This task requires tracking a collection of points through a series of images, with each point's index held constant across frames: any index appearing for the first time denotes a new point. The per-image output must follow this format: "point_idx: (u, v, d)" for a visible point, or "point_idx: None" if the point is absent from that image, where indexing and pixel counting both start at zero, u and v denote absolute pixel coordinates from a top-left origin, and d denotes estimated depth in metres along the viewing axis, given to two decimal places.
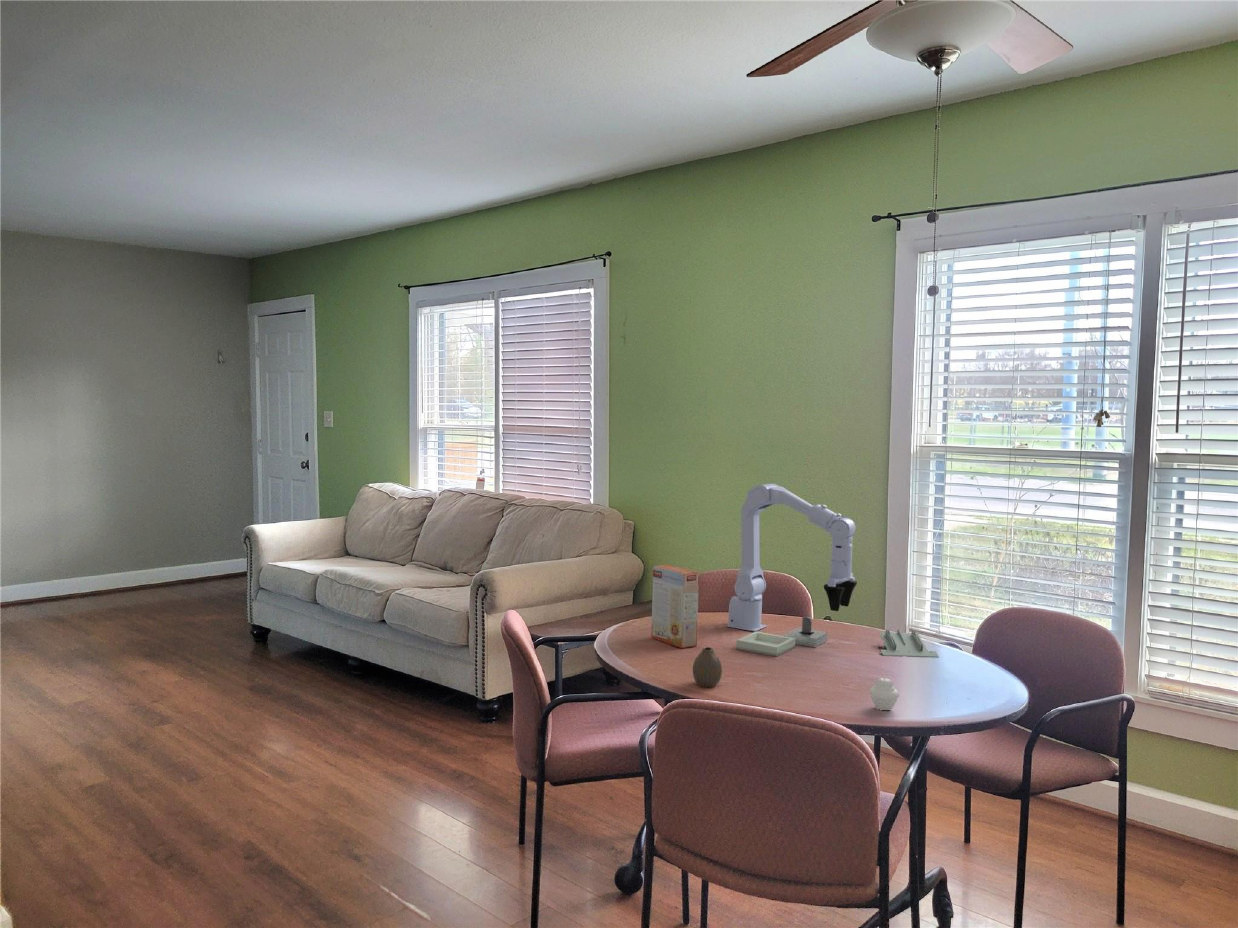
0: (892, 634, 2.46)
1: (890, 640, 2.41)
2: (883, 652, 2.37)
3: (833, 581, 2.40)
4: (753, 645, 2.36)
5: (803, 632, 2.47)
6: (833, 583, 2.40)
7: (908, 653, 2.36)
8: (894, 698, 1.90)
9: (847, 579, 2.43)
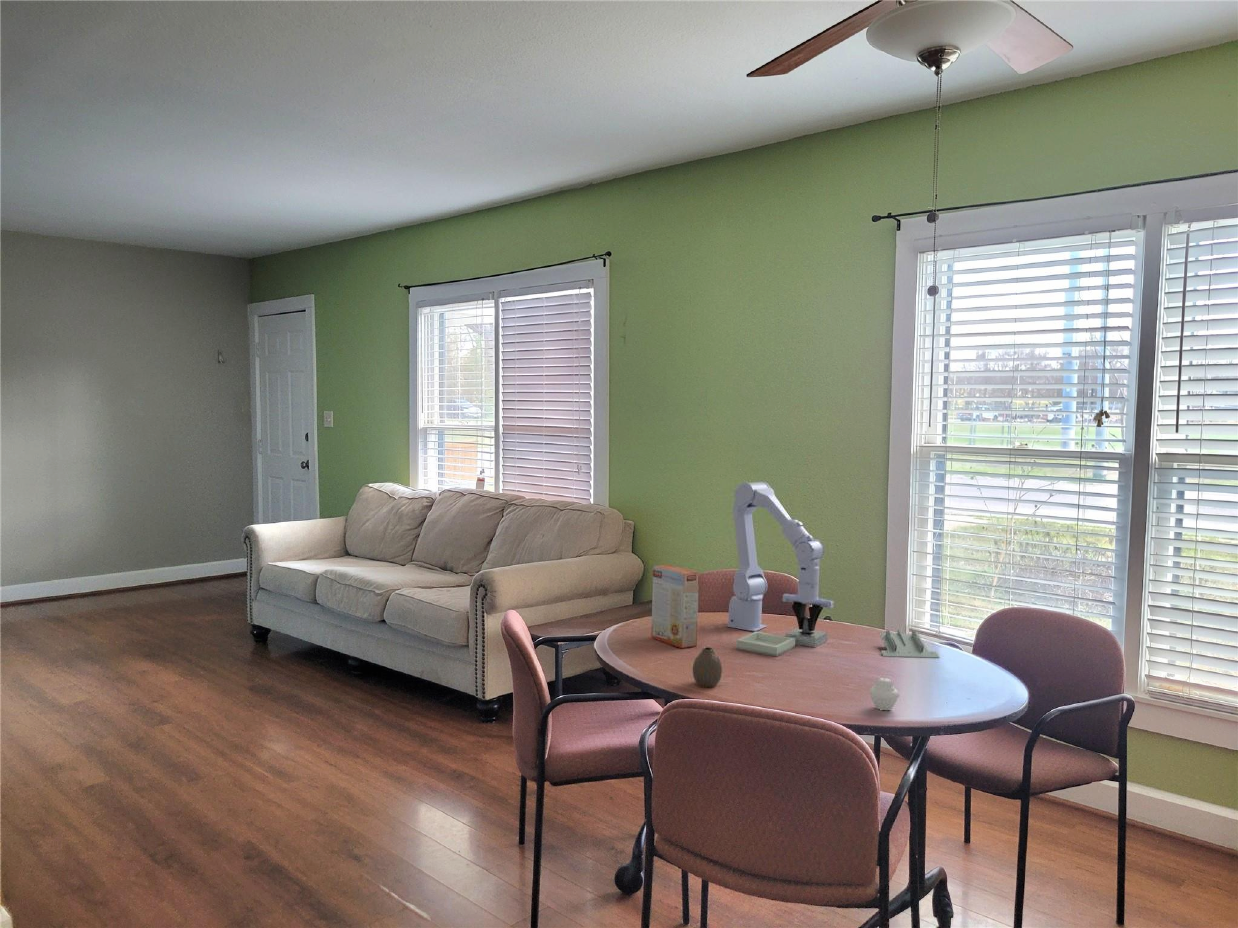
0: (892, 635, 2.45)
1: (890, 641, 2.40)
2: (884, 653, 2.36)
3: None
4: (753, 645, 2.36)
5: (803, 632, 2.47)
6: None
7: (909, 654, 2.35)
8: (894, 698, 1.90)
9: (798, 599, 2.46)
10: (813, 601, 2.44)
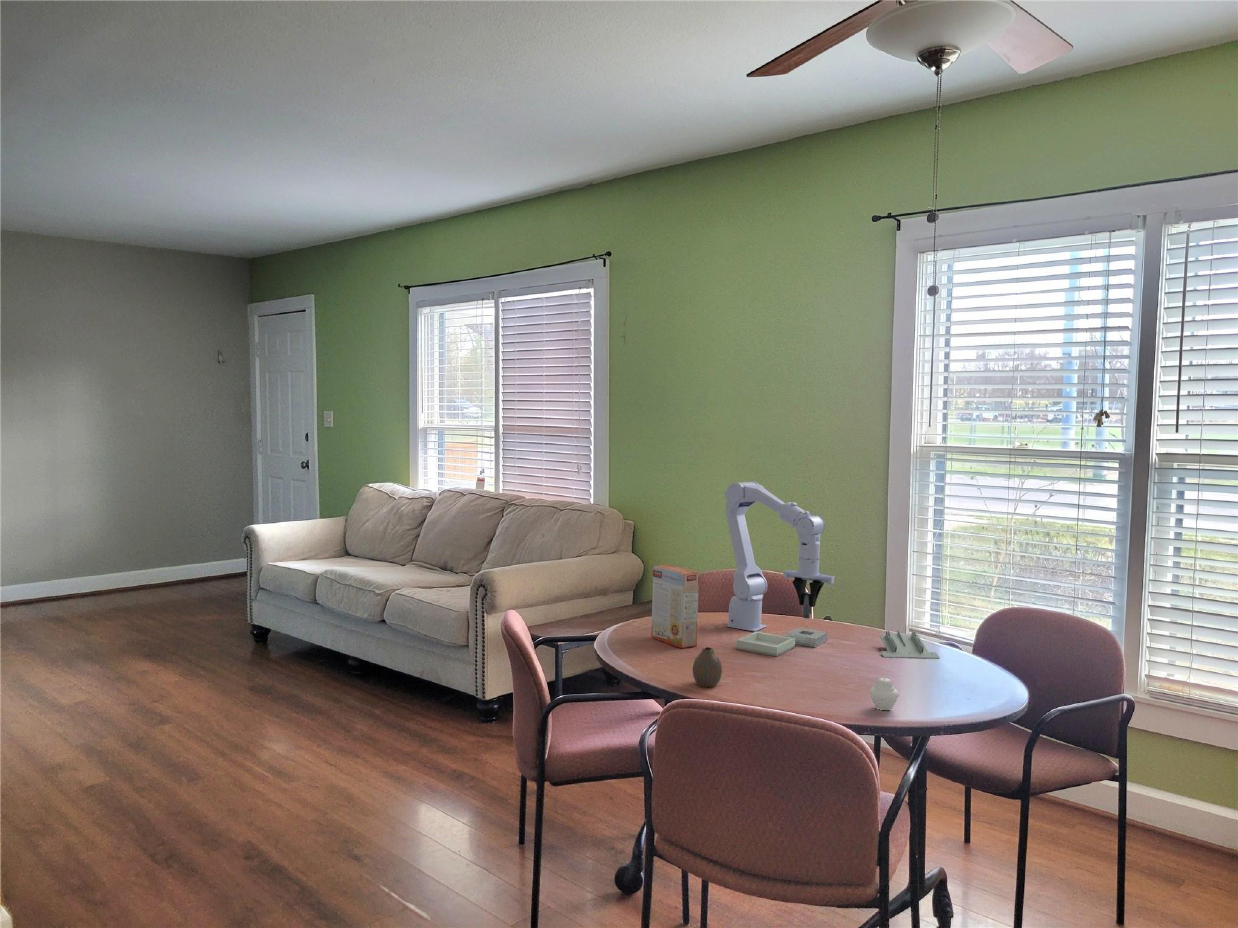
0: (892, 635, 2.44)
1: (890, 641, 2.39)
2: (884, 654, 2.35)
3: None
4: (753, 645, 2.36)
5: (804, 608, 2.47)
6: None
7: (909, 654, 2.35)
8: (894, 698, 1.90)
9: (799, 575, 2.46)
10: (814, 576, 2.44)
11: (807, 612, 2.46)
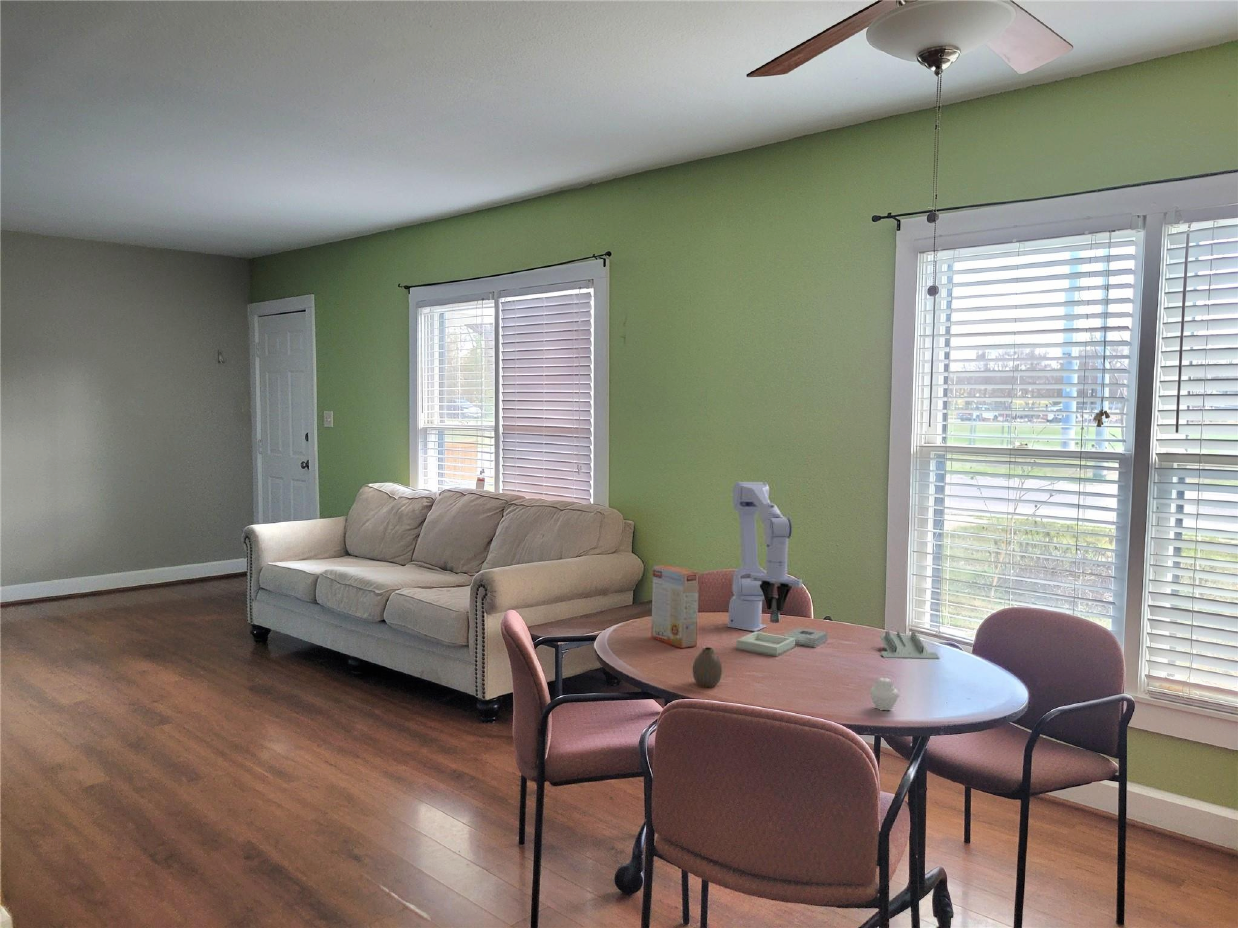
0: (892, 636, 2.44)
1: (890, 642, 2.39)
2: (884, 654, 2.35)
3: None
4: (753, 645, 2.36)
5: (771, 612, 2.40)
6: None
7: (909, 655, 2.34)
8: (894, 698, 1.90)
9: (766, 578, 2.39)
10: (781, 580, 2.37)
11: (774, 616, 2.40)
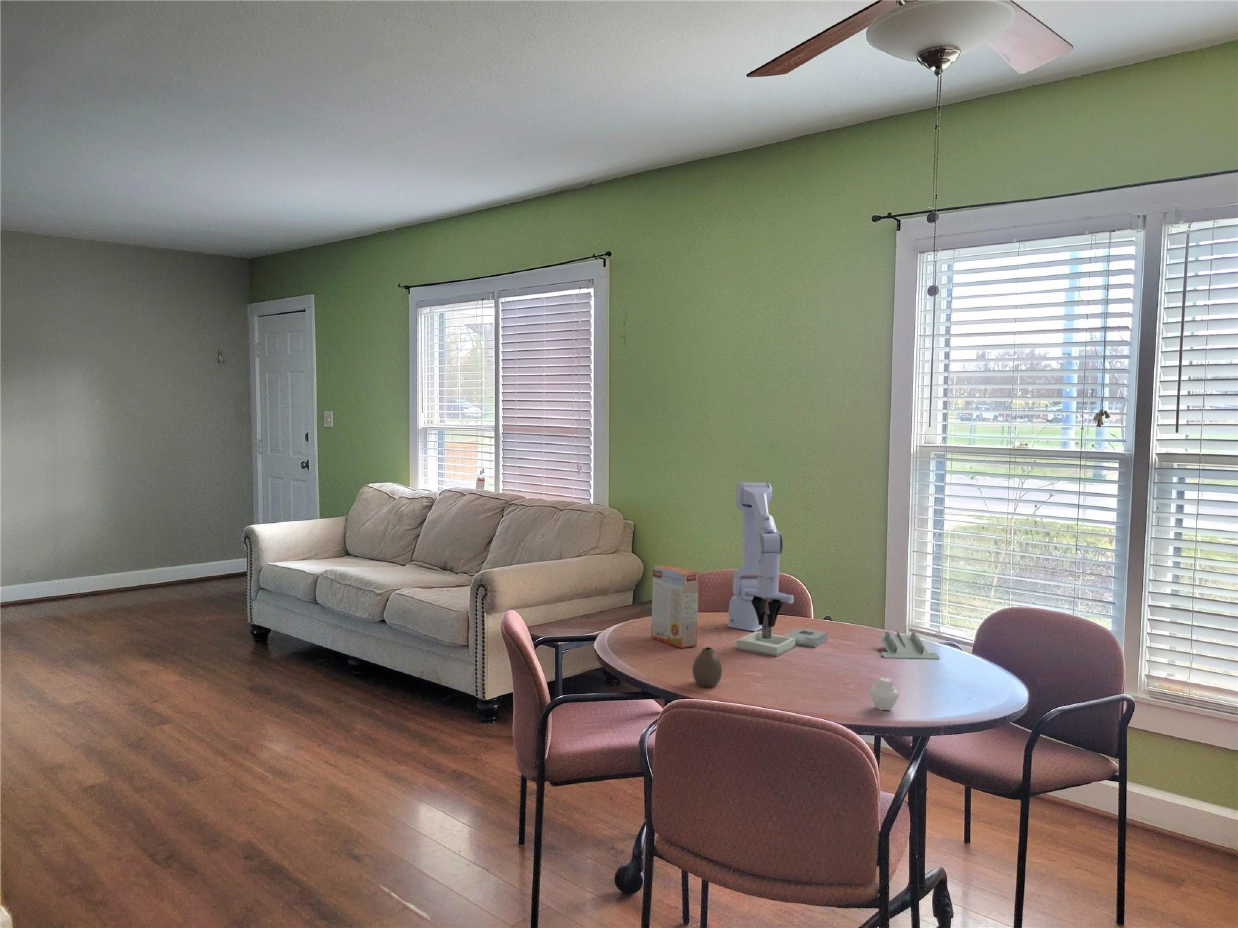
0: (892, 636, 2.44)
1: (890, 642, 2.39)
2: (884, 654, 2.34)
3: None
4: (753, 645, 2.36)
5: (763, 628, 2.39)
6: None
7: (909, 655, 2.34)
8: (894, 698, 1.90)
9: (757, 594, 2.38)
10: (773, 596, 2.36)
11: (766, 632, 2.39)
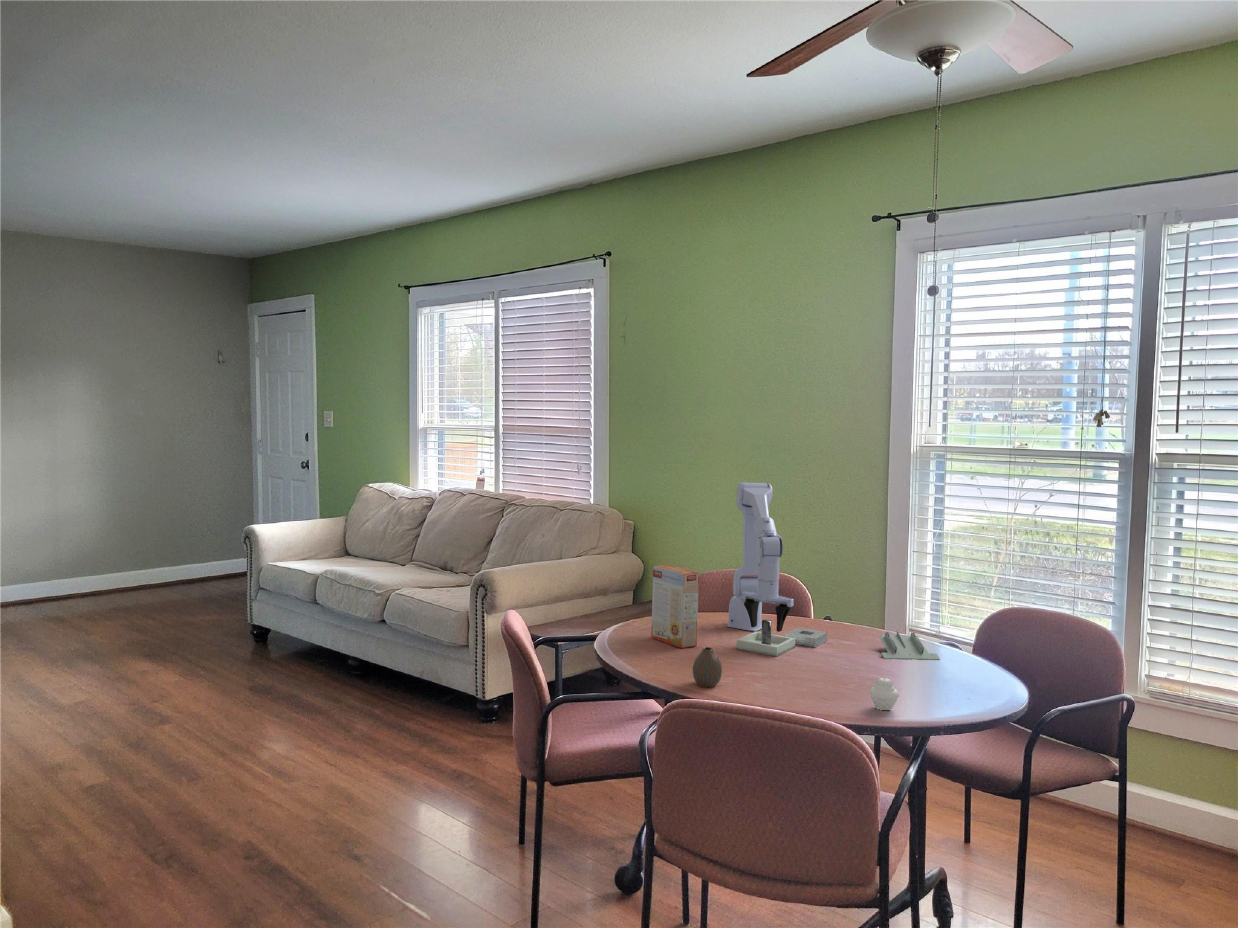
0: (891, 636, 2.43)
1: (890, 643, 2.38)
2: (884, 655, 2.33)
3: None
4: (753, 645, 2.36)
5: (762, 636, 2.39)
6: None
7: (909, 656, 2.33)
8: (894, 698, 1.90)
9: (757, 597, 2.38)
10: (772, 599, 2.36)
11: (765, 640, 2.39)
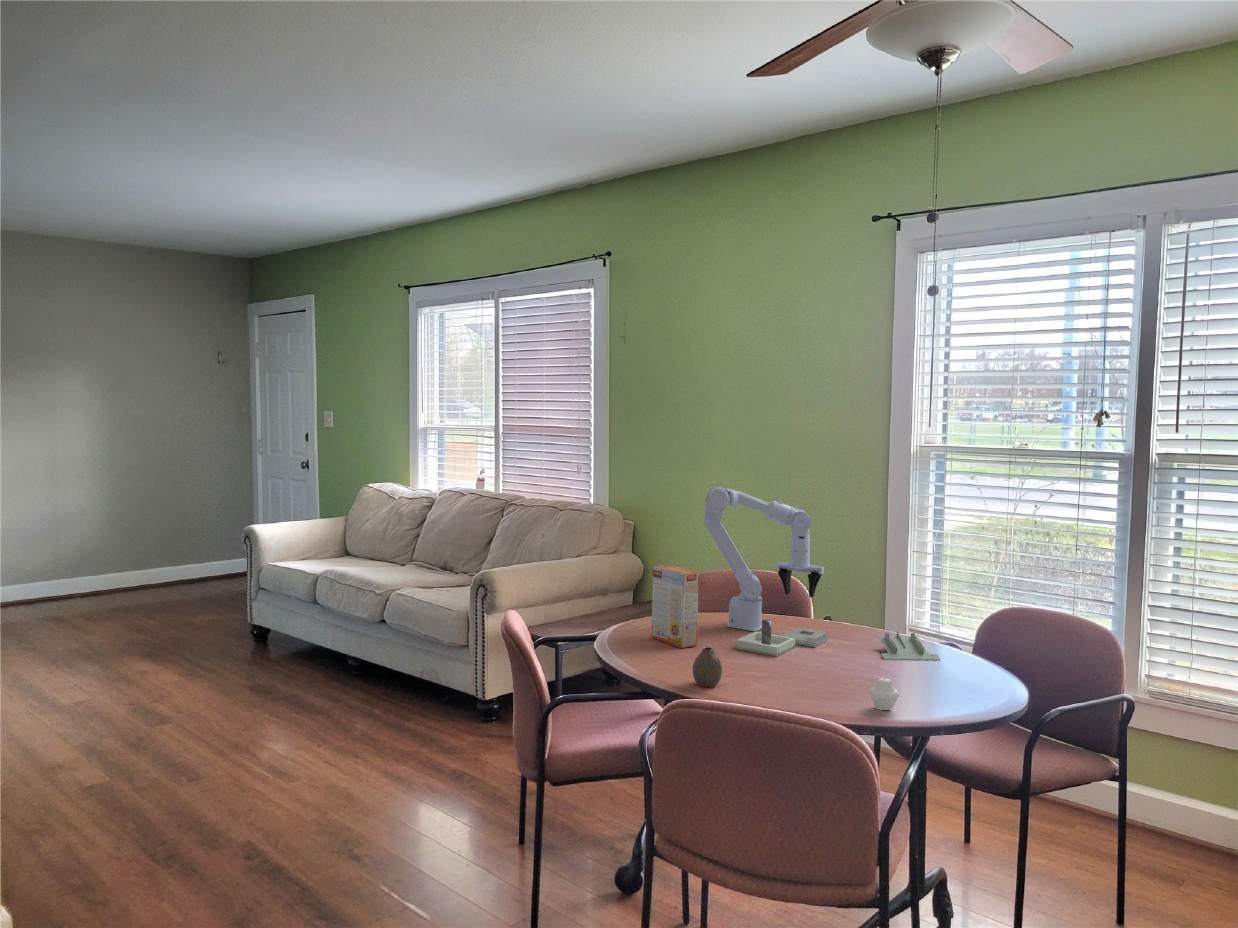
0: (891, 637, 2.42)
1: (890, 643, 2.37)
2: (884, 656, 2.33)
3: None
4: (753, 645, 2.36)
5: (762, 636, 2.39)
6: None
7: (909, 656, 2.33)
8: (894, 698, 1.90)
9: (790, 566, 2.59)
10: (805, 567, 2.57)
11: (765, 640, 2.39)
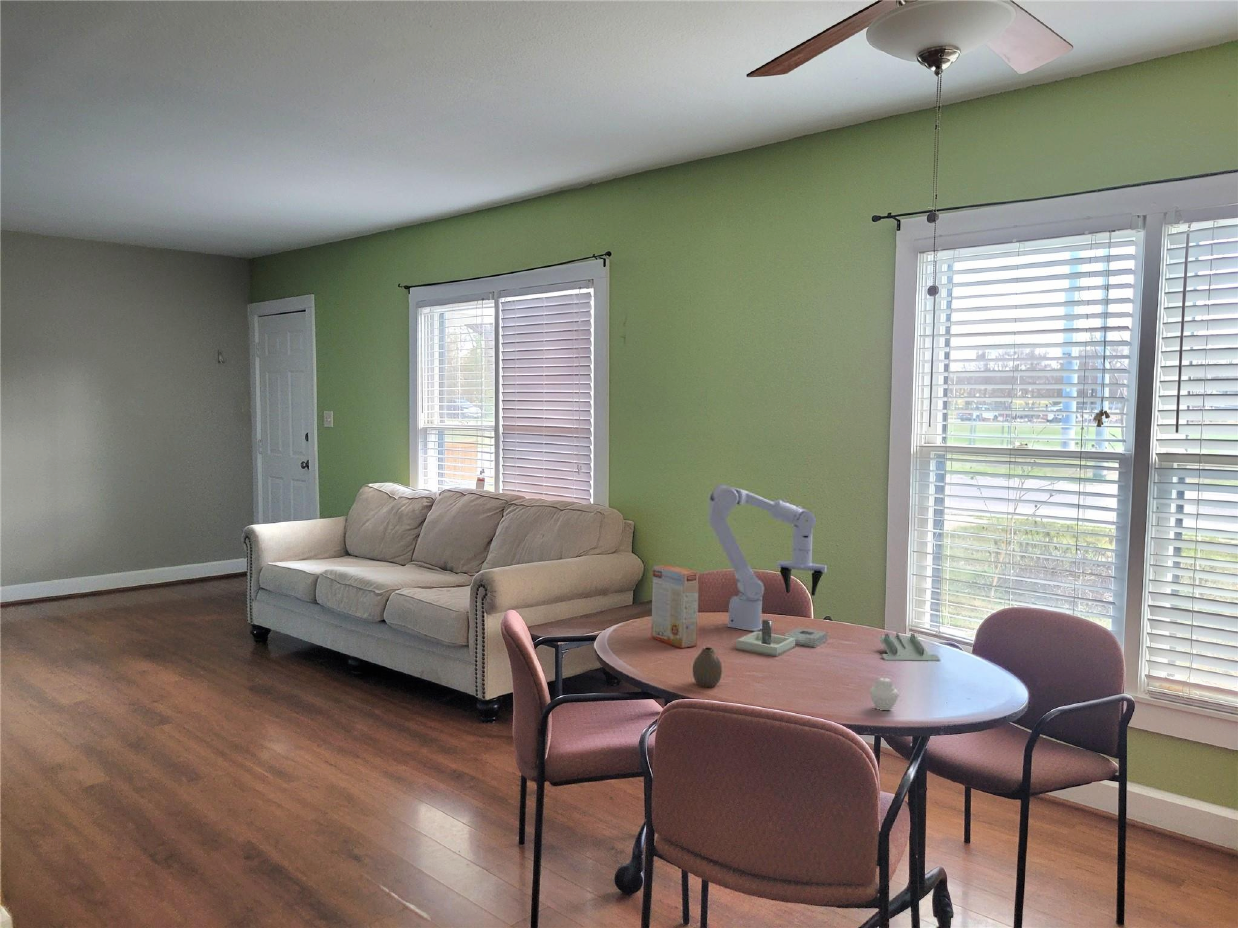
0: (891, 638, 2.42)
1: (890, 644, 2.37)
2: (885, 656, 2.32)
3: None
4: (753, 645, 2.36)
5: (762, 636, 2.39)
6: None
7: (910, 657, 2.32)
8: (894, 698, 1.90)
9: (793, 565, 2.61)
10: (808, 566, 2.60)
11: (765, 640, 2.39)
